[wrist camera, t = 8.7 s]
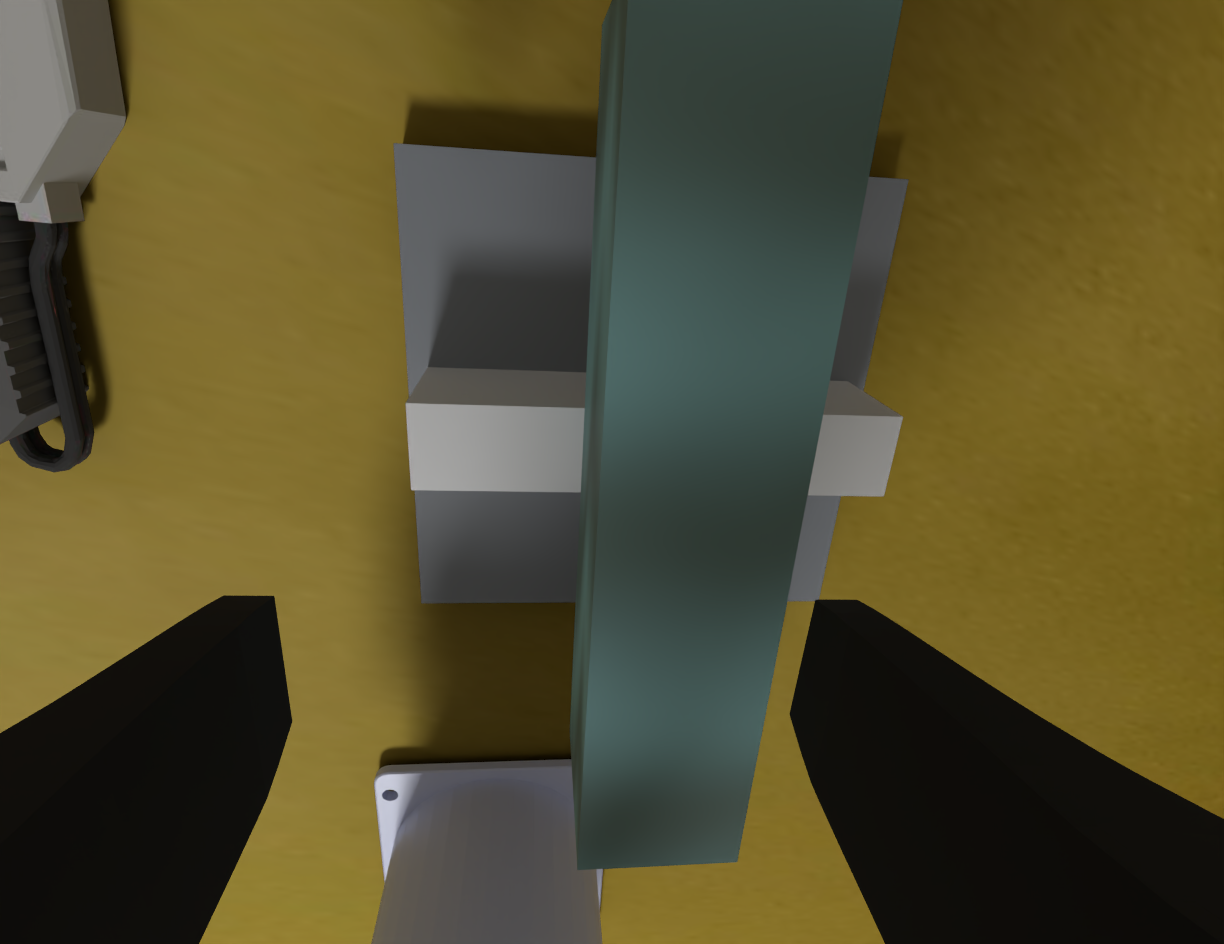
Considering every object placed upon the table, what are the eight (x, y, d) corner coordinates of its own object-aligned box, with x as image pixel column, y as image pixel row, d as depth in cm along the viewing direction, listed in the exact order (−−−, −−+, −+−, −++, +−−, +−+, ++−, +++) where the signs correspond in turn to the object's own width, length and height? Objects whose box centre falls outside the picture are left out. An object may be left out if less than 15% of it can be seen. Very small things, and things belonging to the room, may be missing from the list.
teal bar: (697, 726, 18) (737, 862, 15) (569, 729, 18) (577, 870, 14) (795, 42, 12) (906, -19, 8) (602, 25, 12) (631, -47, 8)
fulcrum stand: (806, 583, 22) (860, 664, 18) (426, 584, 20) (401, 672, 17) (888, 179, 17) (984, 178, 13) (401, 145, 16) (360, 134, 12)
